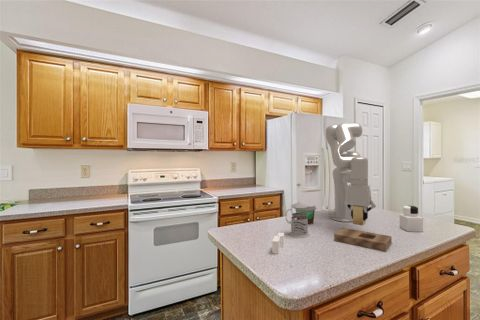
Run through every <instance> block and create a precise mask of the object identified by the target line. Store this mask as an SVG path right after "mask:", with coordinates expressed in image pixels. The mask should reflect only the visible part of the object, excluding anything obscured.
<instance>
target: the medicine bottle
mask: <svg viewBox="0 0 480 320" xmlns="http://www.w3.org/2000/svg"><path fill="white" fill-rule="evenodd" d="M402 209H403V210H402V211H403V213H400V214H399V228H400V229H401V230H404V231H406V232H409V233H411V232H412V233H423V232H424V227H423V226H424V224H423V223H424V220H423V219H424V218H423V217H421V216H419V207H418V206H415V205H404V206H403V208H402Z"/></svg>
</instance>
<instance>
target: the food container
mask: <svg viewBox="0 0 480 320" xmlns="http://www.w3.org/2000/svg"><path fill="white" fill-rule="evenodd" d="M307 206H308V205H307ZM293 209H294V210H295V213H304V214H306V215H307V216H305V217H307V218H308V225H312V224H314V223H315V222H314V221H315V212H316V210H317V208H316V205H313V206H308V207H307V208H306V209H296V208H293ZM296 219H299V220H302V219H300V218H296ZM302 224H303V223H302Z"/></svg>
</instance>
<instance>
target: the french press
mask: <svg viewBox="0 0 480 320" xmlns="http://www.w3.org/2000/svg"><path fill="white" fill-rule="evenodd" d="M296 186H297V187H301V186H302V185H301V183H298V182H297V184H296ZM290 207H291V208H289V209H287V210H286V212H285V214H284V215H285V220H286V222H287V224H289V225H291V226H290V229H291V230H290V232H289V235H290V236H291V237H293V238H294V237H295V238H308V237H310V236H311V234H310V233H309V231H308V230H309V228H308V227H309V224H308V218H307V217H305V216H307V215H306V214H304V213H296V212H293V213H292V209H294V208H296V209H306V208H307V207H308V205H307V204H305V203H301V202H296V203H293V204H292V205H291V206H290ZM296 209H295V210H296ZM289 211H290V212H291V213H292V214H291V218H290V219H291V222H290V221H288V219H287V213H288V212H289ZM297 218H300V219H302V220H299V219H297ZM302 223H303V224H302Z"/></svg>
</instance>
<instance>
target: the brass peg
mask: <svg viewBox="0 0 480 320" xmlns="http://www.w3.org/2000/svg"><path fill="white" fill-rule="evenodd" d="M363 213H364V207H362V206H354V205H353V222H352V225H357V226H364V225H366V220H365V221H364V220H363Z"/></svg>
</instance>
